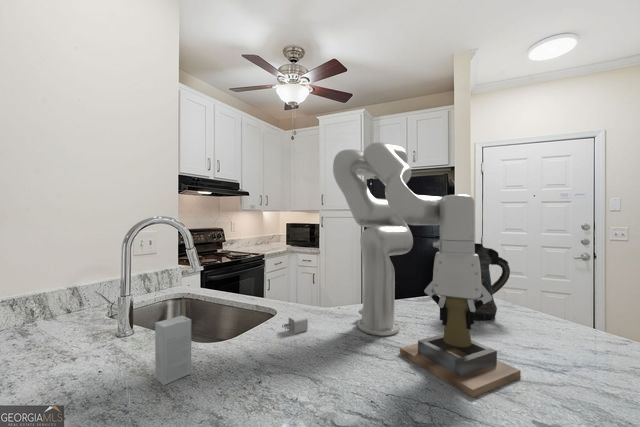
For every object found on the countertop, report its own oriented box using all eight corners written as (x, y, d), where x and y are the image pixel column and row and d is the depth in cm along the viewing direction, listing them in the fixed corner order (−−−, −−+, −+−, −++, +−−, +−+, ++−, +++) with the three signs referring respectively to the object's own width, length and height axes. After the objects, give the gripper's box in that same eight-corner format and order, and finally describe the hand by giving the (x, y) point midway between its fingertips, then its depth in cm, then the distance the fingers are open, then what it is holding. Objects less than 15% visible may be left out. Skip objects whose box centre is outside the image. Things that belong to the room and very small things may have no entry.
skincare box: (182, 367, 67) (182, 314, 67) (191, 374, 65) (192, 319, 65) (153, 378, 63) (154, 322, 63) (162, 386, 60) (163, 327, 60)
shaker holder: (399, 353, 75) (400, 336, 75) (443, 341, 82) (444, 325, 82) (472, 397, 57) (473, 374, 57) (520, 377, 64) (520, 356, 65)
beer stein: (436, 307, 113) (436, 241, 113) (481, 304, 117) (481, 241, 117) (465, 322, 97) (465, 246, 97) (516, 319, 100) (516, 245, 100)
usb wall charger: (307, 331, 89) (307, 318, 89) (286, 336, 85) (286, 322, 85) (301, 327, 92) (301, 314, 92) (280, 331, 88) (280, 318, 88)
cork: (475, 348, 66) (474, 298, 66) (446, 345, 67) (445, 297, 67) (467, 337, 72) (466, 291, 72) (440, 335, 73) (440, 290, 73)
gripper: (416, 247, 70) (416, 324, 70) (499, 251, 63) (500, 338, 62) (421, 244, 77) (421, 315, 77) (497, 247, 69) (497, 326, 69)
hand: (456, 324), depth 70 cm, fingers closed on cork, 4 cm apart
